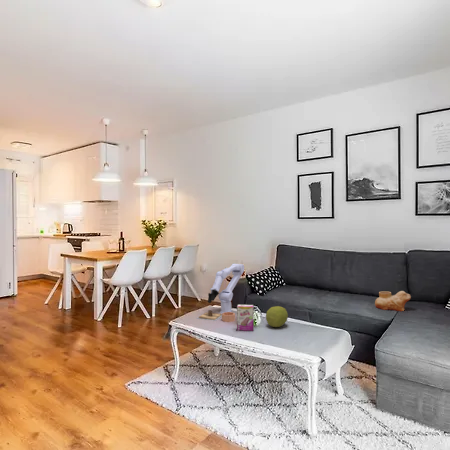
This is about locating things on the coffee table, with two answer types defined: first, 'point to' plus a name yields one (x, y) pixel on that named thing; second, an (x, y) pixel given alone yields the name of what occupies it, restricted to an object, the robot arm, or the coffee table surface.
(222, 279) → the robot arm
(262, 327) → the coffee table surface
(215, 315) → the oak lid
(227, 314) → the terracotta bowl
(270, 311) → the fruit
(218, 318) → the grey flat square slab
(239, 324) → the candy bar box
